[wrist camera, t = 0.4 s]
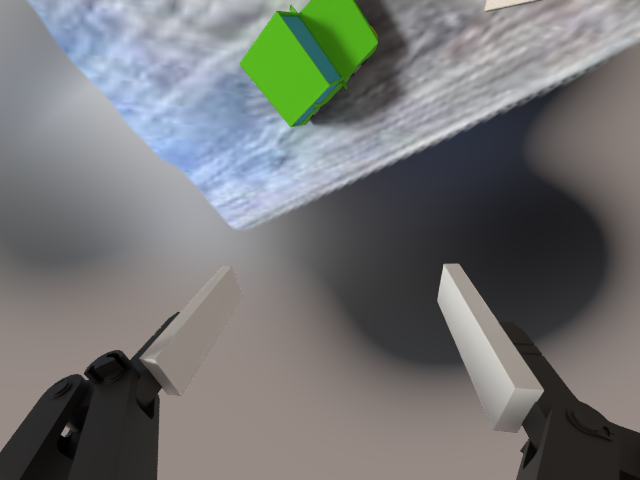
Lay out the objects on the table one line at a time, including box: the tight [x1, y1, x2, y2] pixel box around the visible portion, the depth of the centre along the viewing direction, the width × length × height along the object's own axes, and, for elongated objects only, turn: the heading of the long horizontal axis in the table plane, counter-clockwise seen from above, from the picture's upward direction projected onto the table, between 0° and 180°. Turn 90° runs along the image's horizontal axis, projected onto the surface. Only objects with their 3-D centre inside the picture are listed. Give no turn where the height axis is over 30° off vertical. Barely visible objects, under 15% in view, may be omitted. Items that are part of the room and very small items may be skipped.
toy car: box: [240, 0, 378, 127], centre depth 27 cm, size 10×13×10 cm
